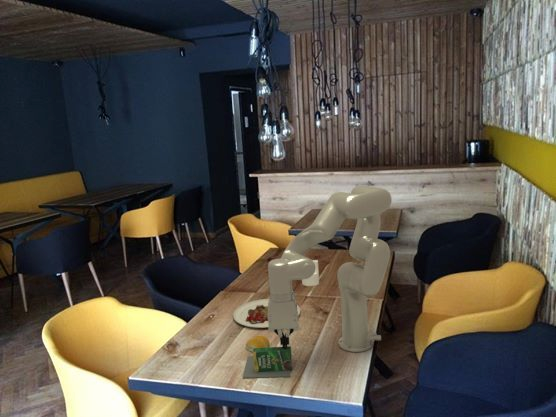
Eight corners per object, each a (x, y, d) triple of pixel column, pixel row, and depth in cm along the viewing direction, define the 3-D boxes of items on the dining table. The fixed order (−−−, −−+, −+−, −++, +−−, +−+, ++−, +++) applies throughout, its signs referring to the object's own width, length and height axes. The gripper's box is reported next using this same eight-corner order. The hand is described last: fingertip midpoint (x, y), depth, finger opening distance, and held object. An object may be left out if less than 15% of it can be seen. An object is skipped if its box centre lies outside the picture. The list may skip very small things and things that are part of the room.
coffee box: (292, 371, 151) (253, 372, 151) (291, 366, 153) (254, 367, 154) (291, 350, 149) (252, 351, 149) (291, 345, 152) (253, 347, 152)
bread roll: (273, 344, 171) (272, 335, 170) (259, 355, 164) (258, 345, 163) (256, 339, 175) (255, 330, 175) (242, 349, 168) (241, 340, 168)
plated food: (306, 303, 207) (306, 296, 207) (291, 333, 179) (290, 325, 178) (246, 300, 216) (246, 294, 215) (222, 328, 187) (222, 321, 187)
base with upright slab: (319, 279, 237) (318, 258, 235) (319, 285, 228) (317, 263, 226) (302, 280, 238) (301, 258, 236) (301, 286, 229) (300, 264, 227)
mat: (291, 355, 161) (291, 354, 161) (290, 377, 147) (290, 376, 147) (247, 356, 162) (247, 355, 162) (242, 378, 149) (242, 377, 148)
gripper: (303, 290, 151) (307, 340, 154) (260, 292, 152) (264, 341, 155) (303, 299, 143) (307, 351, 147) (258, 301, 144) (262, 352, 148)
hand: (285, 346), depth 151 cm, fingers closed
